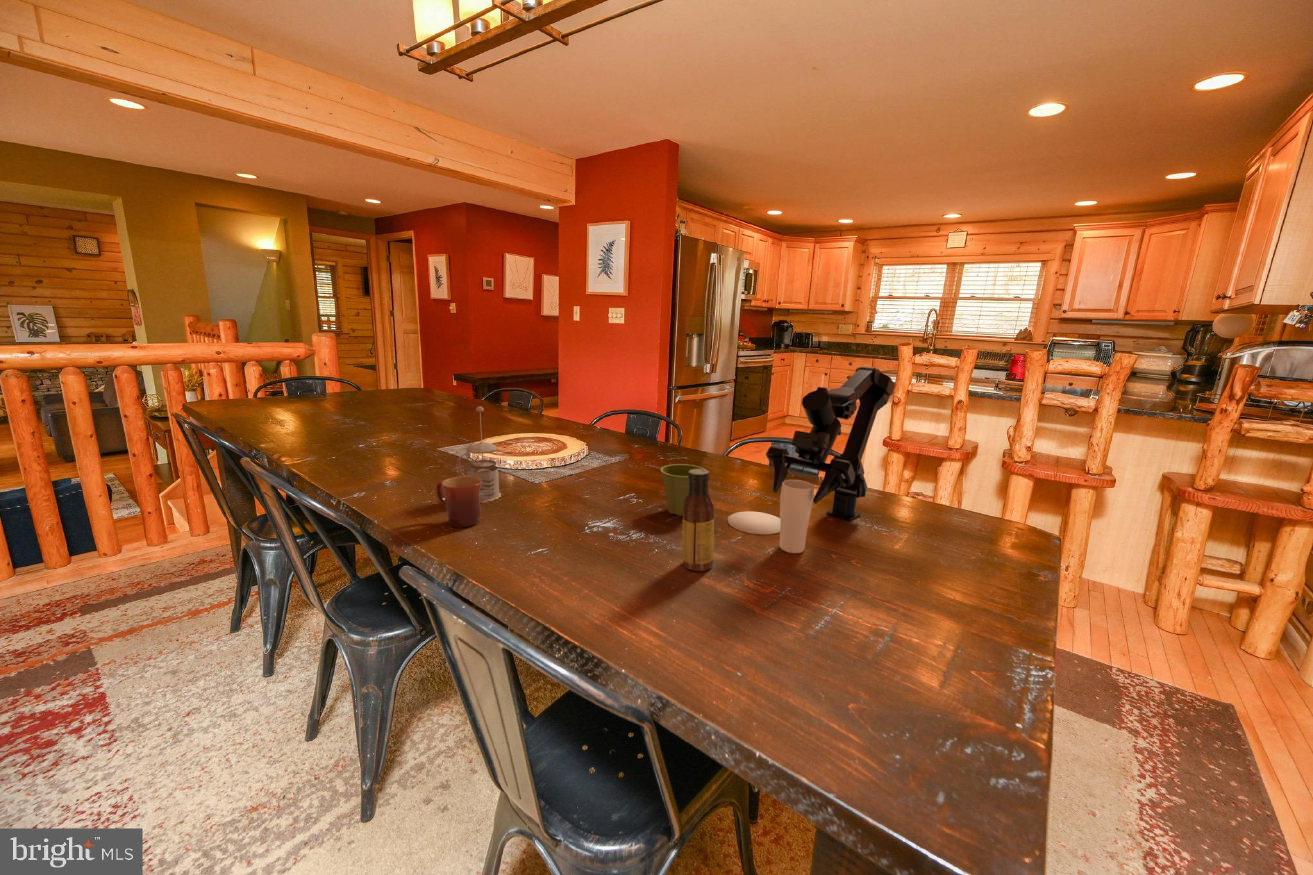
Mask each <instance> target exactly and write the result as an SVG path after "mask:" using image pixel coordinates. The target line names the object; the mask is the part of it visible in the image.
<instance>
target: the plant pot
mask: <svg viewBox="0 0 1313 875" xmlns="http://www.w3.org/2000/svg"><path fill="white" fill-rule="evenodd" d="M692 469H704V470H707V469H705V468H704V467H702V466H697V465H693V464H685V463H684V464H683V463H676V464H675V463H674V464H668V465H664V466H661V468H660V472H661V473H662V478H663V481H664V487H665V488H664V489H665V496H666V497H665V498H666V506H667V511H668V513H669V514H671V515H673V514H675V515H677V516H679V517H683V502H684V500H685V498H686V497H687V495H688V494H689V478H688V472H689V470H692Z"/></svg>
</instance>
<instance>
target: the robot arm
mask: <svg viewBox="0 0 1313 875" xmlns="http://www.w3.org/2000/svg"><path fill="white" fill-rule="evenodd" d="M894 391H895V382H894V381H893V379H892V377H890V376H889V375H887V374H885V373H883V372H882V371H881V370H880V369H879V368H876V367H872V366H871V367H870V366H860V367H859V366H858V367H857V368H856V369H855V372H854V373H853V374H852V375H851V376H850V377H849V378H848V379H847V380H846V381H844V383H843V384H842V385H841V386H840V387H836V388H831V389H828V388H827V387H824V386H823V387H822V386H818V387H817V388H816V390H813V391H810V392H808V393H807V394H806V395H805V396H803V397H802V399H801V406H802V407H803V410H804V413H805V415H806V417H807V421H808V422H809V423H810V425H812V427H811V429H810V430H809V432H806V431H801V430H794V433H793V436H792V440H791V444H790V445H791V446H793V447H795V449H794V451H795V454H797V455H798V456H795V455H792V454H791V455H790V453H789V450H788V448H784V447H780V446H775V445H771V446H770V447H768V448H767V450H766V453H765V456H766V458H767V460H768V462H769V464H770V465H771V467H773V469H774V474H773V488H772V491H773V493H775V494H777V492H778V491H779V490H781V487H782V482H783V481H785V480H786V478H787V477H788V474H789V472H788V470H789V469H790V468H791V466H796V467H801V468H805V469H809V470H814V471H819V472H823V473H824V476H823V479H822V481H821V483H820V485H819V487H818V489H817V491H816V493H815V494H814V497H813V504H815V505H817V504H818V503H820V502H821V500H823V499H824V498H825V497H826V496H828V495H829V494H830V493H832V492H833V501H832V508H831V509H829V510H826V514H827V515H829V516H830V515H831V516H834V517H837V518H840V519H843V520H847V521H851V520H853V519H856V518H858V517H860V516H861V512H858V511H856V510H857V502H858V499H861V498H866V495H867V490H868V489H867V488H868V484H867V482H866V479H865V476H864V474H865V470H864V465H863V462H862V458H863V457H864V453H865V450H866V447H867V443H868V441H869V438H870V435H871V432H872V429H873V426H874V424H875V420H876V416H877V414H878V411H879V410H881V409H882V408H883V407H885V406H886V405H887V404H888V403H889V399H890V398H891V396H893V394H894ZM857 401H859V406H858V405H857ZM857 408H858V409H857ZM856 411H857V412H856ZM855 412H856V413H855ZM854 414H855V418H854V421H853V423H852V426H851V429H850V432H849V435H848V438H847V440H846V444H845V445H844V450H843V452H842V453H840V455H835V456H833V458H832V459H830V462H829V463H827V462H826V461H827V459H828V458H829V456H832V454H833V446H834V444H835V442H836V439H837V438H838V436H841V435H842V424H841V421H840V420H839V419H841V420H849V419H851V417H852V416H853V415H854Z"/></svg>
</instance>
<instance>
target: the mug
mask: <svg viewBox="0 0 1313 875" xmlns="http://www.w3.org/2000/svg"><path fill="white" fill-rule="evenodd" d="M482 480H483V479H481V478H478V477H473V476H468V475H467V476H466V475H465V476H464V475H461V476H460V475H459V476H455V477H451V478H446V479H445V480H440V481H438V482H436V485H435V492H436V496H437V498H438V501H439V502H440V503H441V504H442V505H443V506H444V507H445V508H446V517H447V518H446V519H447V522H448V524H449V525H450V526H452V527H453V528H458V527H459V528H461V529H462V528H463V527H464V528H470V527H472V526H475V525H477V524H478V523H479V522H480V520H481V517H482V512H481V511H482V510H481V504H480V497H479V493H480V487H481V485H482ZM459 528H458V529H459Z"/></svg>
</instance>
